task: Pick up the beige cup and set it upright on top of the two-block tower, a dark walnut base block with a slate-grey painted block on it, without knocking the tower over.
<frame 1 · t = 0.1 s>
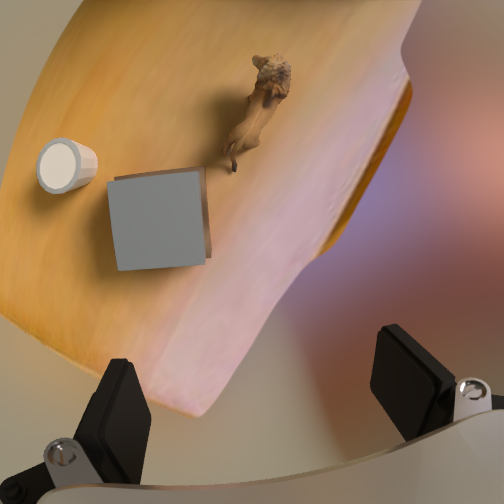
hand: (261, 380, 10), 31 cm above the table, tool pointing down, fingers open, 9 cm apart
base block: (167, 212, 39), on the table, touching top block
top block: (160, 217, 35), point 4 cm above the table, touching base block
lion figurine: (250, 116, 37), on the table
beige cup: (81, 166, 36), on the table
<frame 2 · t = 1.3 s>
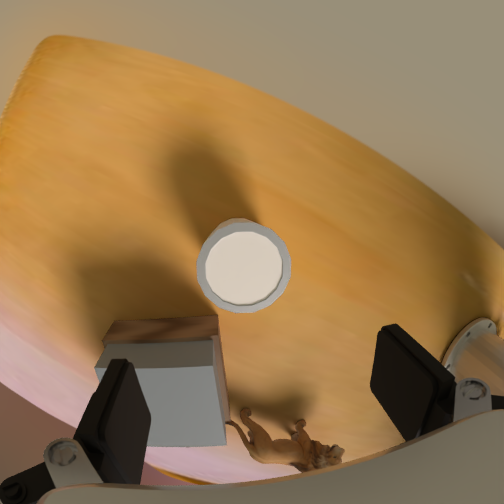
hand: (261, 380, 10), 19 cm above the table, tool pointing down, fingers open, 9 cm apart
base block: (173, 361, 31), on the table, touching top block
top block: (168, 385, 27), point 4 cm above the table, touching base block
lion figurine: (281, 422, 35), on the table
beige cup: (238, 247, 28), on the table
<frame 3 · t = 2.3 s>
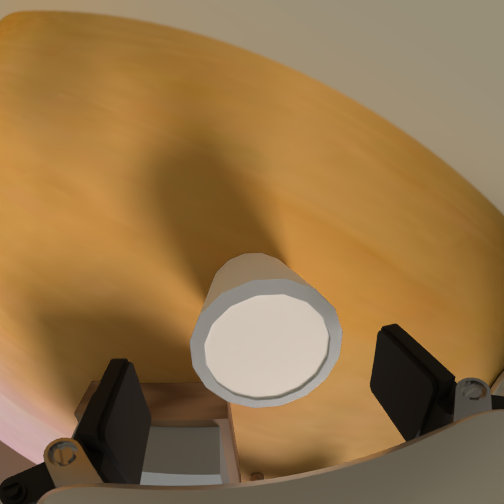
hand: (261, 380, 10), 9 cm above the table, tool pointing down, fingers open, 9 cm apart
base block: (170, 428, 22), on the table, touching top block
top block: (161, 467, 18), point 4 cm above the table, touching base block
beige cup: (253, 293, 20), on the table
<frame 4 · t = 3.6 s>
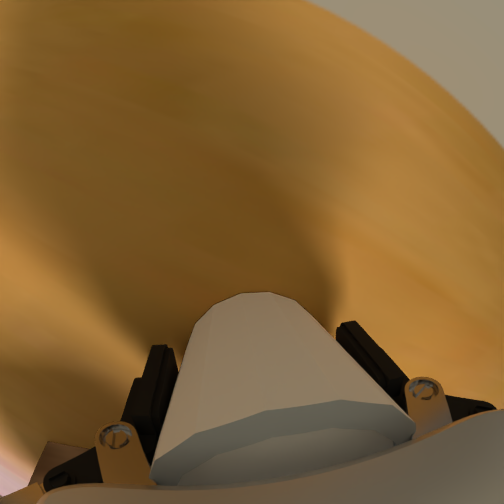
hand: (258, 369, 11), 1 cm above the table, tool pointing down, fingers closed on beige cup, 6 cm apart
base block: (150, 493, 15), on the table, touching top block
beige cup: (254, 351, 12), on the table, touching gripper
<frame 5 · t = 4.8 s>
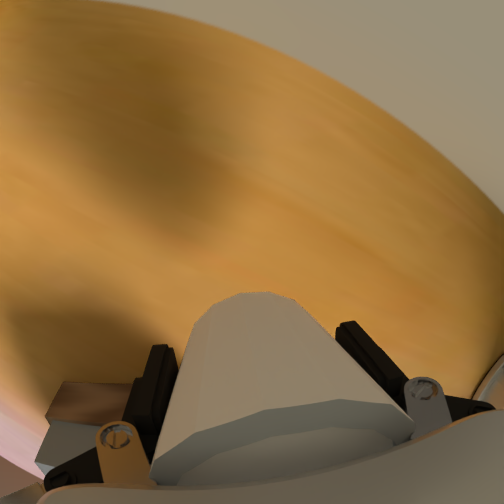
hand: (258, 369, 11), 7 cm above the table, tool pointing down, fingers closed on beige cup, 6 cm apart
base block: (146, 429, 21), on the table, touching top block
top block: (138, 470, 16), point 4 cm above the table, touching base block
beige cup: (254, 351, 12), point 6 cm above the table, touching gripper
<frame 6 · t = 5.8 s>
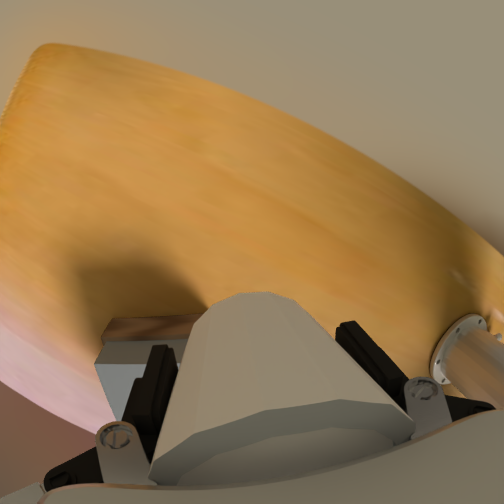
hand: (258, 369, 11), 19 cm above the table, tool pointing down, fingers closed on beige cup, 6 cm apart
base block: (169, 357, 32), on the table, touching top block
top block: (164, 381, 28), point 4 cm above the table, touching base block
beige cup: (253, 351, 12), point 18 cm above the table, touching gripper
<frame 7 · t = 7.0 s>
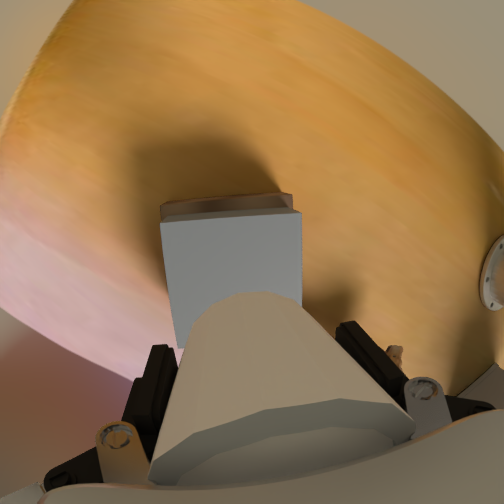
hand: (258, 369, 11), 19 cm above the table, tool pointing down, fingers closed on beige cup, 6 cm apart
base block: (229, 251, 30), on the table, touching top block
tall grey upright box: (470, 391, 43), on the table
top block: (232, 269, 26), point 4 cm above the table, touching base block
beige cup: (253, 350, 12), point 18 cm above the table, touching gripper
when the fingers open (10 cm above the table, at t = 10.9 s): beige cup stays where it is, resting on top block.
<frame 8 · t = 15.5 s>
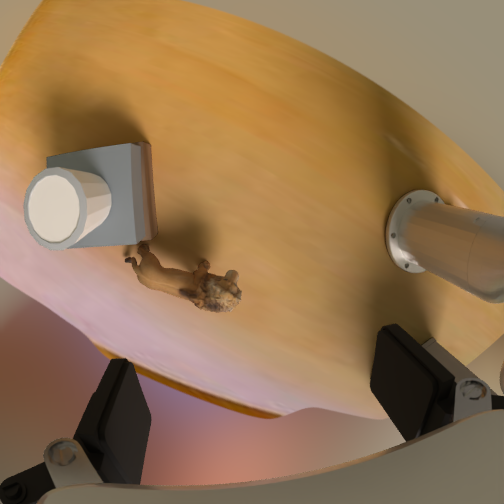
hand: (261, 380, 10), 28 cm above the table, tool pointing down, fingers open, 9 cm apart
base block: (113, 194, 35), on the table, touching top block
tall grey upright box: (404, 367, 47), on the table
top block: (101, 195, 31), point 4 cm above the table, touching base block, beige cup
lion figurine: (185, 265, 38), on the table
beige cup: (88, 200, 27), point 8 cm above the table, touching top block
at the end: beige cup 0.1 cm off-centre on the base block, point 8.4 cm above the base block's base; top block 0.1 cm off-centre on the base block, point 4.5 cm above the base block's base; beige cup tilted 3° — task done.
